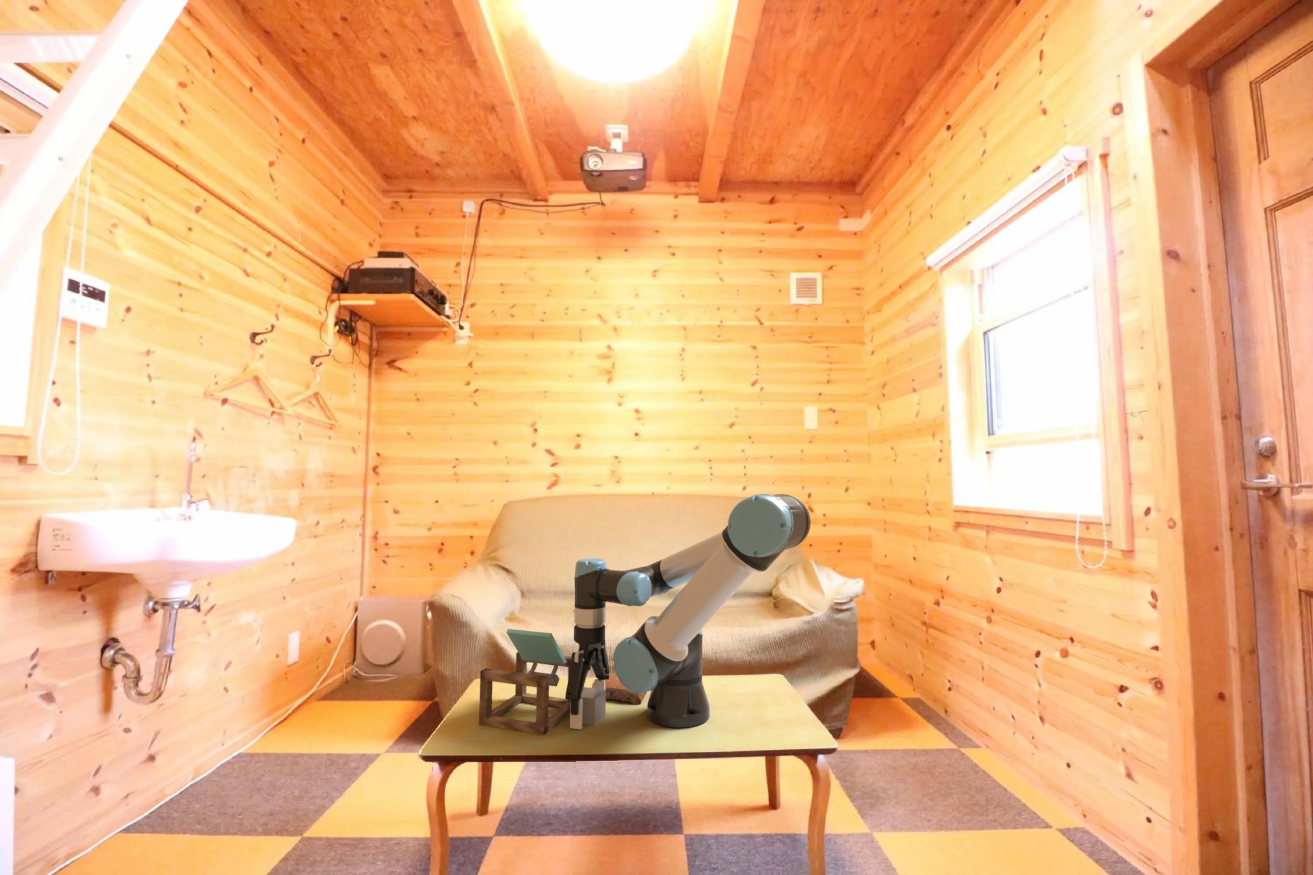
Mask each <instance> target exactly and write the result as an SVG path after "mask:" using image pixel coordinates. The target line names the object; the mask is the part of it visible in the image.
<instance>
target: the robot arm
mask: <svg viewBox="0 0 1313 875" xmlns="http://www.w3.org/2000/svg"><path fill="white" fill-rule="evenodd" d="M811 520H812V519H811V515H810V511H809V510H808V508H807V506H806V505H805V504H804V502H802V501H801V500H800V499H798V498H797V497H795V496H793V495H790V494H784V493H782V494H781V493H780V494H779V493H778V494H769V493H768V494H767V493H759V494H754V495H751V496H750V497H748V496H747V497H746V498H743V499H742V500H740V501H739V502H738V503H737V504H736V505H735V506H734V507H733V509H732V510H731V512H730V514H729V516H728V520H727V525H726V527H725V528H724V529H723V530H722V531H721V532H718V533H717V534H715V535H713V536H711V537H708V538H706V539H704V540H702V541H699V542H697V543H695V544H693V545H691V546H688V547H686V548H684V549H682V550H680V551H677V552H675V553H674V554H673V553H672V554H671V555H668V556H666V557H665V558H662V559H660V560H658V561H656V562H653V563H651V564H649V565H644V566H639V567H637V568H636V567H635V568H630V569H626V570H617V569H609V568H608V567H607V562H606V560H605V559H603V558H592V557H591V558H583V559H579V560H577V561H576V563H575V570H574V609H572V610H573V613H574V618H573V622H574V624H575V625H574V627H573V641H574V642H575V643H576V644H578V651H577V652H573V651H572V653H571V657H572V661H571V668H570V673H569V679H568V678H567V685H566V690H565V694H564V695H565V697H564V699H570V714H569V715H570V716H569V728H570V729H575V730H582V729H583V723H582V708H583V699H582V698H581V695H582V691H583V687H585V683H586V680H587V675H588V673H589V671H590V670H591V668H592V671H593V673H594V676H595V678H596V679H594V681H593V682H594V689H602V690H605V679H606V680H609V675H610V673H611V672H610V666H609V660H608V654H607V648H606V646H607V645H606V625H605V623H606V619H607V617H606V614H607V613H606V611H607V609H606V603H612V604H617V605H623V606H626V607H642V606H644V605H645V604H647V601H649V600H650V598H651V597H654V596H661V595H663V594H666V593H668V592H669V591H671V590H672V589H674V588H677V587H679V586H682V585H684V584H686V585H684V587H683V588H682V589H681V590H680V592H678V594H677V595H675V597H674V598H673V599H672V601H671V602H670V603H669V604H668V605H667V606H666V608H664V610H663V611H662V612H661V613H660V614H659V615H653V616H652V615H651V616H650V617H648V618H647V619H646V620H645V621H644V622H643V624H642V625H641V626H640V627H639V628H638V629H637V630H636V631H635V633H634V634H632V635H631V636H629V637H625V638H624V639H622V640H621V641H620V642H619V643H617V645H616V647H615V649H614V652H613V655H612V661H613V664H614V665H613V667H614V668H613V669H614V672H615V673H616V675H617V677H618V679H619V680H620V682H621V683H622V684H623V685H624V686H625V687H626V688H627V689H628V690H630V691H632V692H635V693H644V692H650V693H649V694H650V695H649V698H648V699H647V700H648V701H647V704H646V715H647V716H646V717H647V719H649V721H651V722H653V723H654V724H657V725H660V726H663V727H668V728H690V727H692V728H693V727H697V726H700V725H702V724H704V723H705V722H707V721H708V720H709V718H710V716H711V715H710V714H711V713H710V703H709V701H708V700H709V699H708V696H707V694H706V690H705V687H704V684H703V636H704V635H703V628H704V627H705V626H706V625H707V624H708V623H709V622H710V621H711V620H712V619H713V617H714V616H715V615H716V614H717V613H718V612H719V611H720V610H721V609H722V607H724V606H725V605H726V603H727V602H728V601H729V600H730V599H731V598H732V596H734V594H736V592H737V591H738V590H739V589H740V588H741V587H742V586H743V584H744V583H745V582H747V580H749V578H750V577H751V576H752V575H753V573H764V572H766V571H767V570H768V568H769V567H771V566H772V564H773V563H774V562H775V561H776V560H777V559H778V557H780V555H781V554H782V553H783V552H784V551H786V550H789V549H793V548H795V547H797V546H799V545H800V544H801V543H803V542H804V541H805V539H806V538H807V537H808V534H809V533H810V530H811V524H812V523H811Z"/></svg>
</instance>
